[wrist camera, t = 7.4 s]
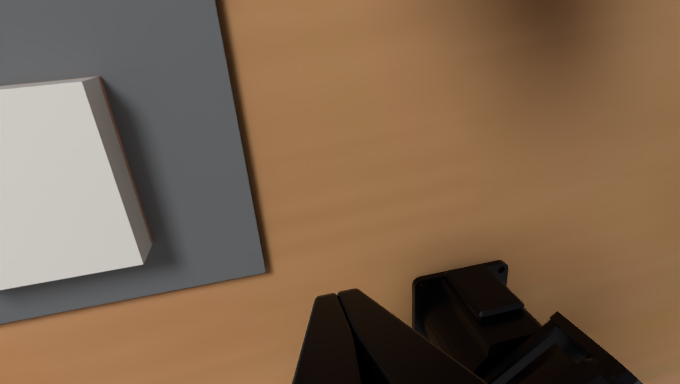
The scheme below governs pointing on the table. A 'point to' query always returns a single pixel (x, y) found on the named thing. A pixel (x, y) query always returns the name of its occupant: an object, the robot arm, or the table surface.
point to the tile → (64, 185)
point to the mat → (146, 138)
